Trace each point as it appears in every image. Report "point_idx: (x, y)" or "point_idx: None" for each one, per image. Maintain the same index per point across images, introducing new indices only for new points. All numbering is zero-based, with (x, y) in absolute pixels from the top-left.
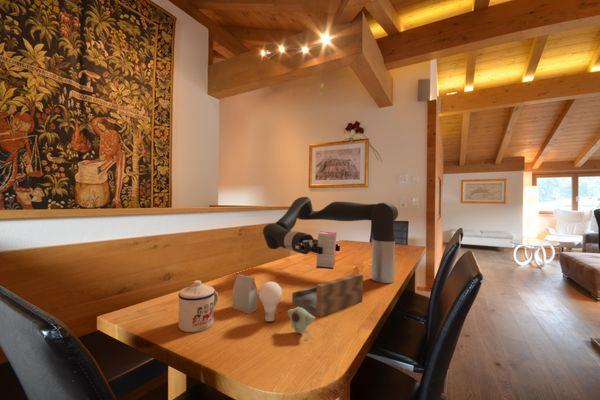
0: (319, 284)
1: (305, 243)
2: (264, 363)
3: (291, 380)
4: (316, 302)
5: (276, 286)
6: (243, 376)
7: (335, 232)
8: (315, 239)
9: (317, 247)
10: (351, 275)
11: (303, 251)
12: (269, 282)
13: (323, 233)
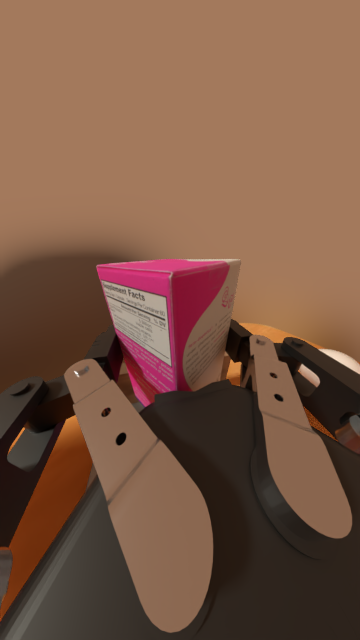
0: (226, 354)
1: (337, 443)
2: (282, 341)
3: (260, 328)
4: (225, 376)
5: (318, 349)
6: (294, 337)
7: (104, 264)
8: (162, 510)
9: (232, 324)
10: (123, 373)
11: (300, 374)
12: (342, 354)
13: (212, 259)
